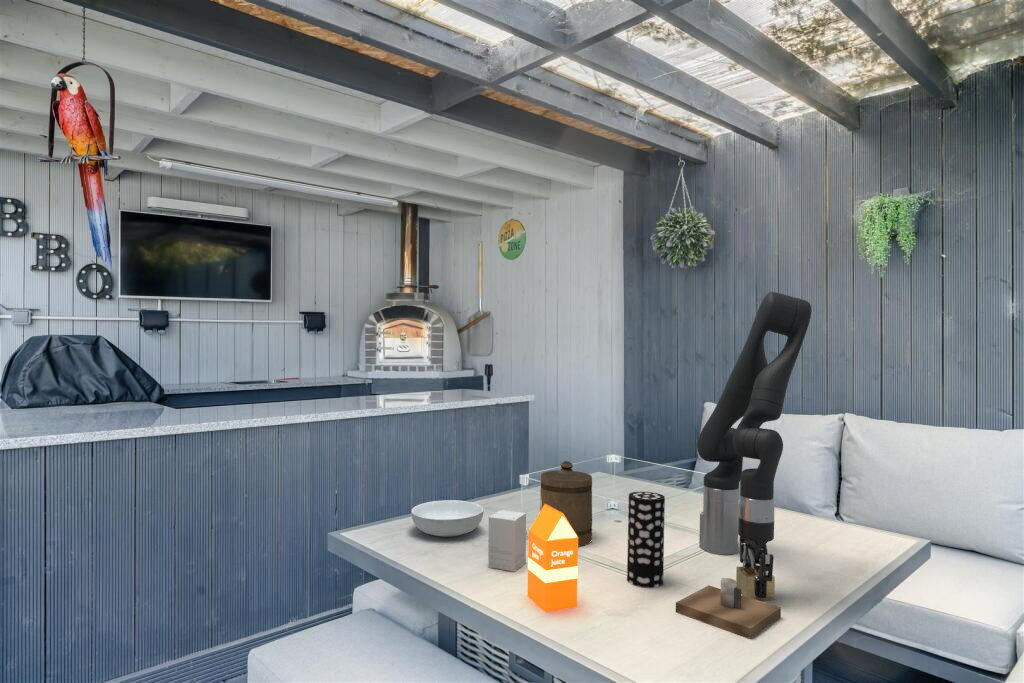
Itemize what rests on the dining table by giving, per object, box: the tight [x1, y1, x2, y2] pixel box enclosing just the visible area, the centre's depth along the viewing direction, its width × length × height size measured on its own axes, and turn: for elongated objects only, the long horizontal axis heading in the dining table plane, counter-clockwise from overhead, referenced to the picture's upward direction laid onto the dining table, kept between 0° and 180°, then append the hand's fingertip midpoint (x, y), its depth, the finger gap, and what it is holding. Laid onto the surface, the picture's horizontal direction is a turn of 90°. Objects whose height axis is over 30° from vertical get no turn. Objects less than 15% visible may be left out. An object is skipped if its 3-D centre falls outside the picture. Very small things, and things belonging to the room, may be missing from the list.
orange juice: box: [527, 504, 579, 613], centre depth 135 cm, size 8×9×20 cm
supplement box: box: [487, 509, 527, 573], centre depth 156 cm, size 7×7×13 cm
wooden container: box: [539, 460, 593, 548], centre depth 178 cm, size 15×15×22 cm
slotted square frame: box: [735, 566, 776, 601], centre depth 141 cm, size 6×6×5 cm
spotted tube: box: [626, 491, 666, 589], centre depth 147 cm, size 8×8×20 cm
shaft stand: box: [675, 577, 782, 640], centre depth 130 cm, size 16×14×7 cm
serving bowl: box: [410, 499, 485, 538], centre depth 182 cm, size 21×21×7 cm
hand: (754, 591), depth 141 cm, fingers closed on slotted square frame, 6 cm apart
